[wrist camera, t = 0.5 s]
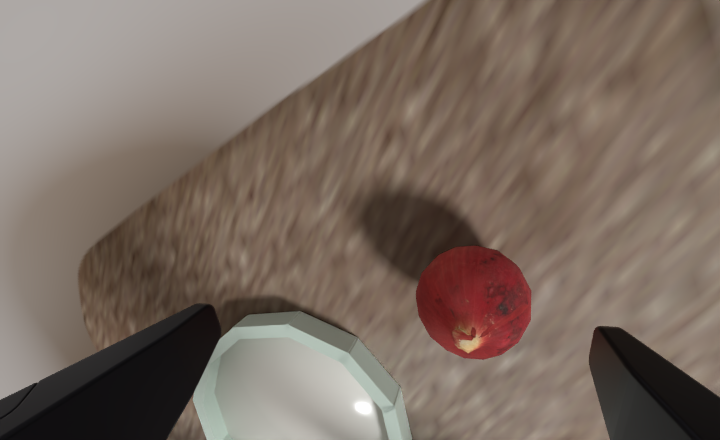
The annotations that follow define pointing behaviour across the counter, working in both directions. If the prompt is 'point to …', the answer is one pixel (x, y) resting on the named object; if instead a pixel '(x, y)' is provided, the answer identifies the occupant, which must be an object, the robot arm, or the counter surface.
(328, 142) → the counter surface
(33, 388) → the robot arm
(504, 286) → the onion
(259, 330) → the plate
